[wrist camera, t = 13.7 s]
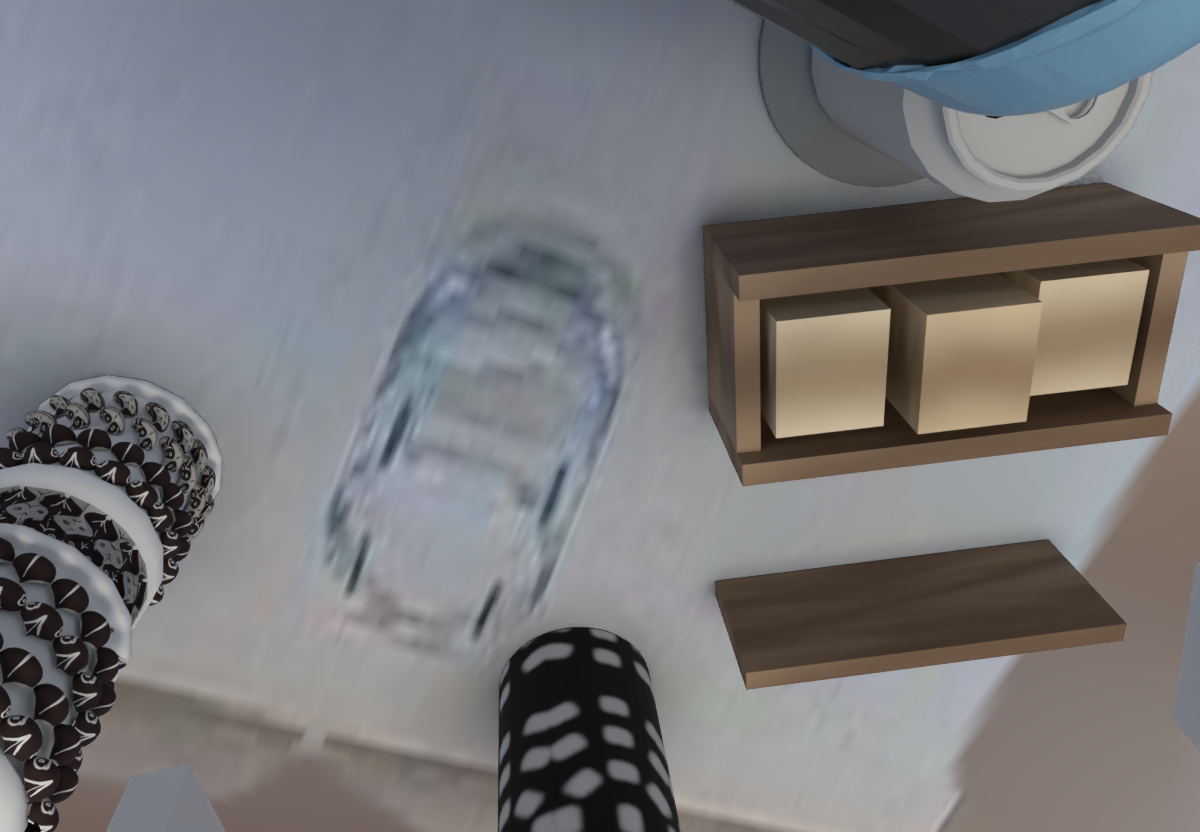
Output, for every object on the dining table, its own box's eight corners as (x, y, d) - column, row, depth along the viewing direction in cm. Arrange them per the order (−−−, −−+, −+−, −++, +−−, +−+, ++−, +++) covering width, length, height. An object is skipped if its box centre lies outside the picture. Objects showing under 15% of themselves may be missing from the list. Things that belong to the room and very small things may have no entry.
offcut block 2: (854, 253, 41) (927, 315, 34) (950, 242, 42) (1042, 302, 34) (850, 356, 44) (917, 434, 37) (941, 345, 44) (1026, 421, 37)
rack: (702, 226, 40) (739, 276, 34) (1105, 182, 41) (1213, 223, 35) (715, 596, 49) (746, 689, 43) (1045, 554, 50) (1122, 640, 44)
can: (865, -93, 35) (1025, -114, 24) (1024, -5, 37) (1237, 11, 26) (771, 99, 38) (876, 157, 27) (923, 172, 40) (1078, 253, 29)
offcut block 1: (735, 266, 41) (776, 321, 35) (832, 255, 41) (890, 309, 35) (737, 369, 43) (776, 438, 37) (829, 358, 44) (883, 425, 37)
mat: (757, -94, 35) (760, -95, 34) (1041, -121, 35) (1048, -122, 35) (759, 197, 40) (762, 199, 39) (1008, 170, 40) (1014, 172, 40)
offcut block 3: (972, 240, 42) (1041, 281, 36) (1067, 229, 42) (1149, 269, 37) (961, 342, 44) (1025, 396, 39) (1052, 332, 44) (1127, 384, 39)
